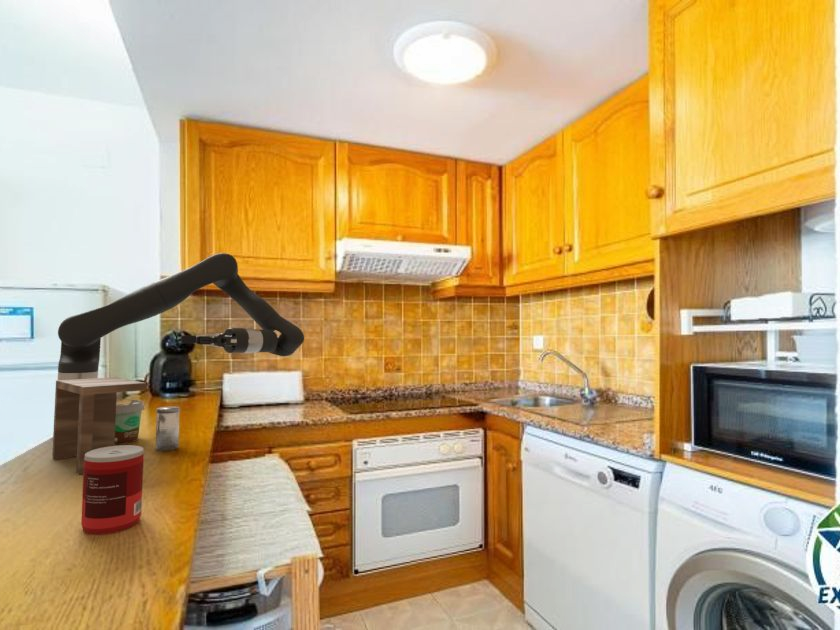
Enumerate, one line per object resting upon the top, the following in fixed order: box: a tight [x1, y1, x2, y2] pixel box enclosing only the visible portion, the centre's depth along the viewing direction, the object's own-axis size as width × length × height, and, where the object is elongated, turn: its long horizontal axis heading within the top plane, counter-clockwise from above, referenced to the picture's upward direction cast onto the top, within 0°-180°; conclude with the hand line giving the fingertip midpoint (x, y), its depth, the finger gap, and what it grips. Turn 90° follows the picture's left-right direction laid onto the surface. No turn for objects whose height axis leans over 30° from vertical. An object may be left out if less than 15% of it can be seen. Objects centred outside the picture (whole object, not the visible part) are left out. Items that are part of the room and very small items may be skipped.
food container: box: [115, 399, 145, 445], centre depth 124 cm, size 12×6×10 cm, turn 179°
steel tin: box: [155, 405, 181, 452], centre depth 117 cm, size 5×5×10 cm
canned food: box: [80, 444, 145, 535], centre depth 71 cm, size 8×8×11 cm
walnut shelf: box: [51, 376, 148, 475], centre depth 105 cm, size 18×12×18 cm, turn 52°
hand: (188, 339), depth 127 cm, fingers open, 8 cm apart
